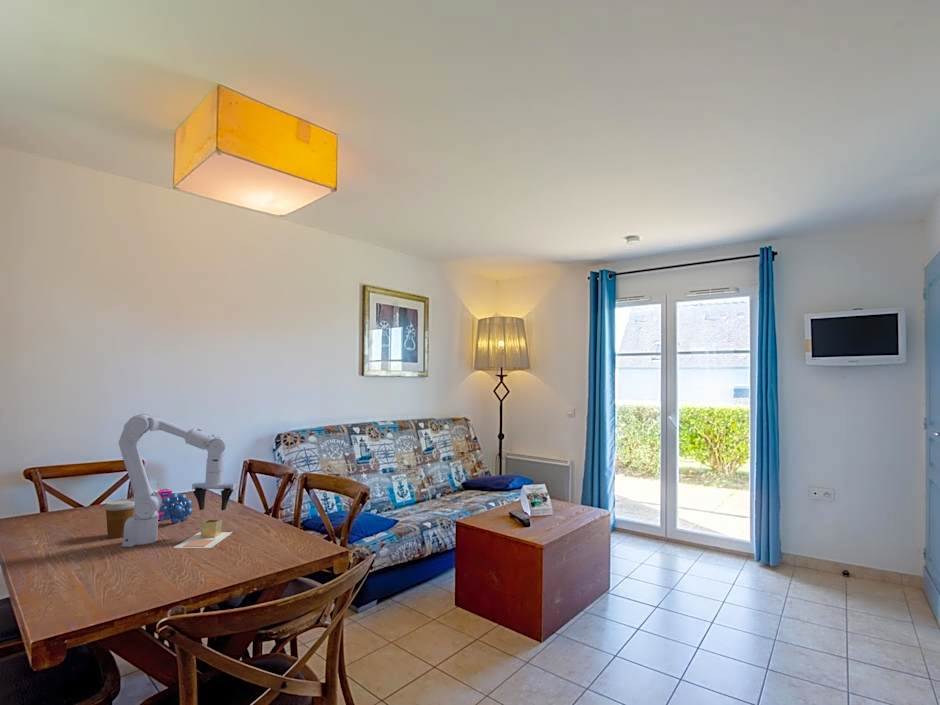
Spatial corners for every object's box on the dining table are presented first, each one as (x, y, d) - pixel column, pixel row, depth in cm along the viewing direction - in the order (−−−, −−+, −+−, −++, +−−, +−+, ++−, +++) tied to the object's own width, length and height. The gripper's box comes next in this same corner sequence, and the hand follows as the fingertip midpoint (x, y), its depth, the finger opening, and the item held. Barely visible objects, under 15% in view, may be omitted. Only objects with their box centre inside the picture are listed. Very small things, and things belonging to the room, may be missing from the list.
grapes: (160, 528, 191) (163, 496, 191) (157, 524, 196) (159, 493, 196) (195, 523, 198) (196, 492, 199) (190, 519, 203) (192, 489, 204)
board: (173, 550, 166) (174, 536, 166) (198, 534, 184) (199, 522, 184) (210, 550, 167) (211, 536, 167) (232, 534, 185) (233, 522, 185)
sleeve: (200, 537, 178) (201, 522, 178) (207, 533, 183) (207, 519, 183) (215, 537, 178) (216, 523, 178) (221, 533, 183) (222, 519, 183)
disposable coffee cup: (95, 537, 177) (98, 503, 178) (121, 530, 186) (123, 497, 187) (115, 540, 174) (118, 505, 175) (140, 533, 183) (143, 500, 184)
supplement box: (154, 521, 199) (156, 492, 200) (148, 519, 203) (150, 490, 204) (170, 519, 204) (172, 490, 205) (164, 516, 207) (166, 488, 208)
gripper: (239, 469, 186) (237, 507, 186) (199, 469, 186) (197, 506, 185) (232, 472, 179) (229, 511, 178) (190, 472, 179) (187, 511, 178)
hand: (212, 509), depth 181 cm, fingers open, 7 cm apart
